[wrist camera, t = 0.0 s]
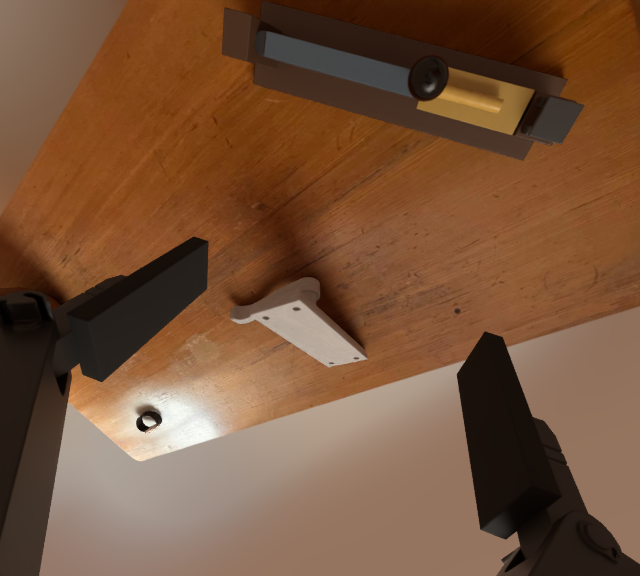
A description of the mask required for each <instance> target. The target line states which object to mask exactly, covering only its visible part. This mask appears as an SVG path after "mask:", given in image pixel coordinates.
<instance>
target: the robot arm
mask: <svg viewBox="0 0 640 576" xmlns="http://www.w3.org/2000/svg"><path fill="white" fill-rule="evenodd" d="M207 271H208V241H206V240H203V239H200V238H197V237H192V238H190V239H189V240H187V241H185V242H184V243H182V244H180V245H179V246H177V247H175V248H174V249H172V250H170V251H169V252H167V253H165V254H164V255H162V256H160V257H159V258H157V259H155V260H154V261H152V262H150V263H149V264H147V265H145V266H144V267H142V268H140V269H139V270H137V271H135V272H134V273H132V274H130V275H129V276H127V277H126V276H123V275H119V276H116V277H112V278H109V279H106V280H104V281H103V282H101V283H99V284H97V285H96V286H95V287H92V288H90V289H89V290H87V291H85V293H82V294H80V295H78V296H76V297H75V298H73V299H71V300H69V301H68V302H66V303H64V304H62V305H60V306H59V307H57V308H55V309H53V310H52V307H51V304H50V300H49V297H48V296H47V295H46V294H45V293H42V292H39V291H19V292H13V293H10V294H7V295H4V296H2V297H0V576H39V572H40V566H41V560H42V554H43V548H44V542H45V536H46V530H47V524H48V518H49V512H50V506H51V500H52V493H53V488H54V482H55V475H56V469H57V464H58V457H59V451H60V446H61V440H62V433H63V427H64V421H65V415H66V409H67V403H68V397H69V391H70V385H71V379H72V375H71V369H72V368H74V367H75V366H76V365H78V364H79V363H80V366H81V370H82V374H83V375H85V376H87V377H90V378H93V379H95V380H98V381H100V382H103V381H104V380H105V379H106V378H107V377H109V376H110V375H111V374H112V373H113V372H114V371H115V370H116V369H118V368H119V367H120V366H121V365H122V364H123V363H124V362H125V361H127V360H128V359H129V358H130V357H131V356H132V355H133V354H134V353H136V352H137V351H138V350H139V349H140V348H141V347H142V346H143V345H144V344H146V343H147V342H148V341H149V340H150V339H151V338H152V337H153V336H155V335H156V334H157V333H158V332H159V331H160V330H161V329H162V328H164V327H165V326H166V325H167V324H168V323H169V322H170V321H171V320H173V319H174V318H175V317H176V316H177V315H178V314H179V313H180V312H182V311H183V310H184V309H185V308H186V307H187V306H188V305H189V304H191V303H192V302H193V301H194V300H195V299H196V298H197V297H198V296H200V295H201V294H202V293H203V292H204V291H205V290H206V289H207ZM457 379H458V385H459V392H460V399H461V406H462V412H463V419H464V425H465V432H466V438H467V444H468V451H469V458H470V464H471V470H472V477H473V484H474V490H475V497H476V503H477V510H478V517H479V523H480V529H481V530H483V531H485V532H488V533H490V534H493V535H495V536H498V537H501V538H503V539H507V538H508V537H510V536H511V535H512V534H514V533H515V532H516V531H517V533H518V538H519V542H520V547H518V548H517V549H516V550H514V551H513V552H511V553H510V554H509V555H507V556H506V557H504V558H503V559H502V561H503V563H504V566H503V567H502V569H501V570H500V571H499V573H498V574H497V576H640V564H639V563H637V562H636V561H634V560H633V559H631V558H630V557H628V556H627V555H625V554H624V553H622V551H621V549H620V546H619V545H618V543H617V541H616V540H615V538H614V537H613V535H612V534H611V533H610V532H609V531H608V530H607V528H606V527H605V526H604V525H603V524H602V523H601V522H599V521H598V520H597V519H595V518H594V517H593V516H591V515H590V514H588V512H587V509H586V507H585V505H584V502H583V500H582V498H581V495H580V493H579V490H578V488H577V486H576V484H575V481H574V479H573V476H572V474H571V472H570V469H569V467H568V466H567V465H566V464H567V462H566V460H565V457H564V455H563V454H562V453H561V451H562V450H561V448H560V445H559V443H558V441H557V438H556V436H555V435H554V433H553V432H552V431H551V429H550V428H549V427H548V425H547V424H546V423H545V422H544V421H543V420H539V419H537V418H534V417H532V414H531V412H530V409H529V407H528V404H527V401H526V398H525V396H524V393H523V390H522V388H521V385H520V382H519V380H518V377H517V374H516V372H515V369H514V366H513V364H512V361H511V358H510V356H509V353H508V350H507V347H506V345H505V342H504V339H503V337H501V336H497V335H494V334H491V333H488V332H484V333H483V335H482V337H481V338H480V340H479V341H478V343H477V344H476V346H475V347H474V349H473V350H472V352H471V353H470V355H469V356H468V358H467V360H466V361H465V363H464V364H463V366H462V367H461V369H460V370H459V372H458V373H457Z"/></svg>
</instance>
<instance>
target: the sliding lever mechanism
mask: <svg viewBox="0 0 640 576" xmlns="http://www.w3.org/2000/svg"><path fill="white" fill-rule="evenodd" d="M430 54H434V55H438V56H440V57H442V58H443V59H444V60H445V61H446V63H447V65H448V68H449V80H448V83H447V84H449V85H453V86H457V87H460V88H464V89H468V90H471V91H475V92H479V93H483V94H486V95H490V96H494V97H497V98H501V99H504V102H503V105H502V107H501V109H500V111H499V112H498V113H497V114H496V113H492V112H488V111H485V110H481V109H478V108H474V107H470V106H467V105H463V104H459V103H456V102H452V101H448V100H445V99H441V98H435V99H434V100H431V101H427V102H422V101H418V100H416V99H415V98H414V97H413V96H412V95H411V94H410V92H409V89H408V84H407V80H408V75H409V72H410V69H411V68H412V66H413V65H414V63H415V62H416V61H417V60H418V59H420V58H421V57H423V56H425V55H430ZM222 55H225V56H229V57H232V58H236V59H240V60H243V61H247V62H251V63H255V74H254V84H255V85H259V86H262V87H266V88H270V89H273V90H277V91H280V92H284V93H287V94H291V95H294V96H298V97H301V98H305V99H308V100H312V101H315V102H319V103H322V104H326V105H329V106H333V107H336V108H340V109H343V110H347V111H350V112H354V113H357V114H361V115H364V116H368V117H371V118H375V119H378V120H382V121H385V122H389V123H392V124H396V125H399V126H403V127H406V128H410V129H413V130H417V131H420V132H424V133H427V134H431V135H434V136H438V137H441V138H445V139H448V140H452V141H455V142H459V143H462V144H466V145H470V146H473V147H477V148H480V149H484V150H487V151H491V152H494V153H498V154H501V155H505V156H508V157H512V158H515V159H519V160H522V161H523V160H524V159H525V157H526V155H527V153H528V151H529V150H530V148H531V146H532V144H533V142H534V141H535V142H538V143H542V144H546V145H549V146H551V145H552V144H553V142H555V143H558V144H562V142H563V141H564V139H565V137H566V136H567V134H568V132H569V131H570V129H571V127H572V126H573V124H574V122H575V121H576V119H577V117H578V116H579V114H580V112H581V111H582V109H583V107H584V105H582V104H578V103H577V102H576V101H573V100H569V99H565V98H561V97H559V95H560V93H561V91H562V90H563V88H564V86H565V84H566V82H567V81H568V79H565V78H561V77H558V76H554V75H550V74H546V73H542V72H538V71H534V70H530V69H526V68H523V67H519V66H515V65H511V64H507V63H503V62H499V61H495V60H492V59H488V58H484V57H480V56H476V55H472V54H468V53H464V52H461V51H457V50H453V49H449V48H445V47H441V46H437V45H433V44H429V43H426V42H422V41H418V40H414V39H410V38H406V37H402V36H398V35H395V34H391V33H387V32H383V31H379V30H375V29H371V28H367V27H363V26H360V25H356V24H352V23H348V22H344V21H340V20H336V19H332V18H329V17H325V16H321V15H317V14H313V13H309V12H305V11H301V10H298V9H294V8H290V7H286V6H282V5H278V4H274V3H270V2H266V1H263V0H262V3H261V13H260V19H258V18H257V17H255V16H253V15H251V14H248V13H244V12H240V11H236V10H233V9H229V8H224V23H223V43H222Z"/></svg>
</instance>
